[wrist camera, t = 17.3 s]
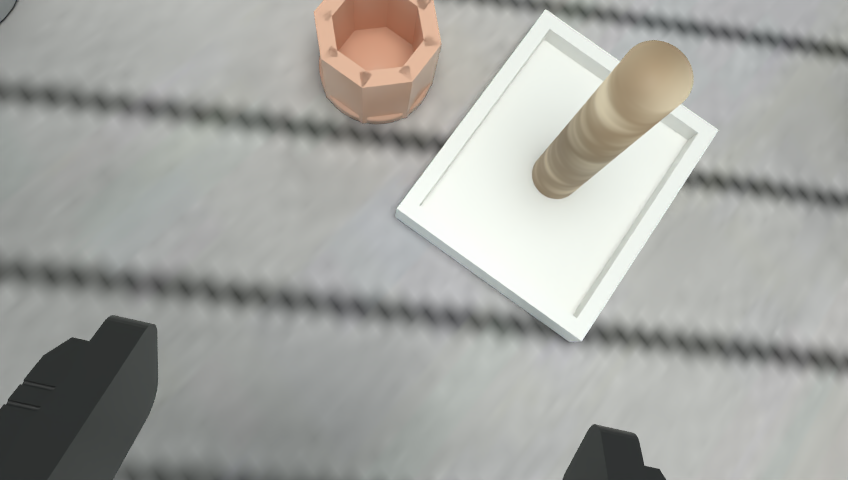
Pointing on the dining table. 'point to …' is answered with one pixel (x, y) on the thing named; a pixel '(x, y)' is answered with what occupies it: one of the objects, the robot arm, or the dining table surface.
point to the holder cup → (377, 56)
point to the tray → (532, 211)
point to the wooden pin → (615, 116)
